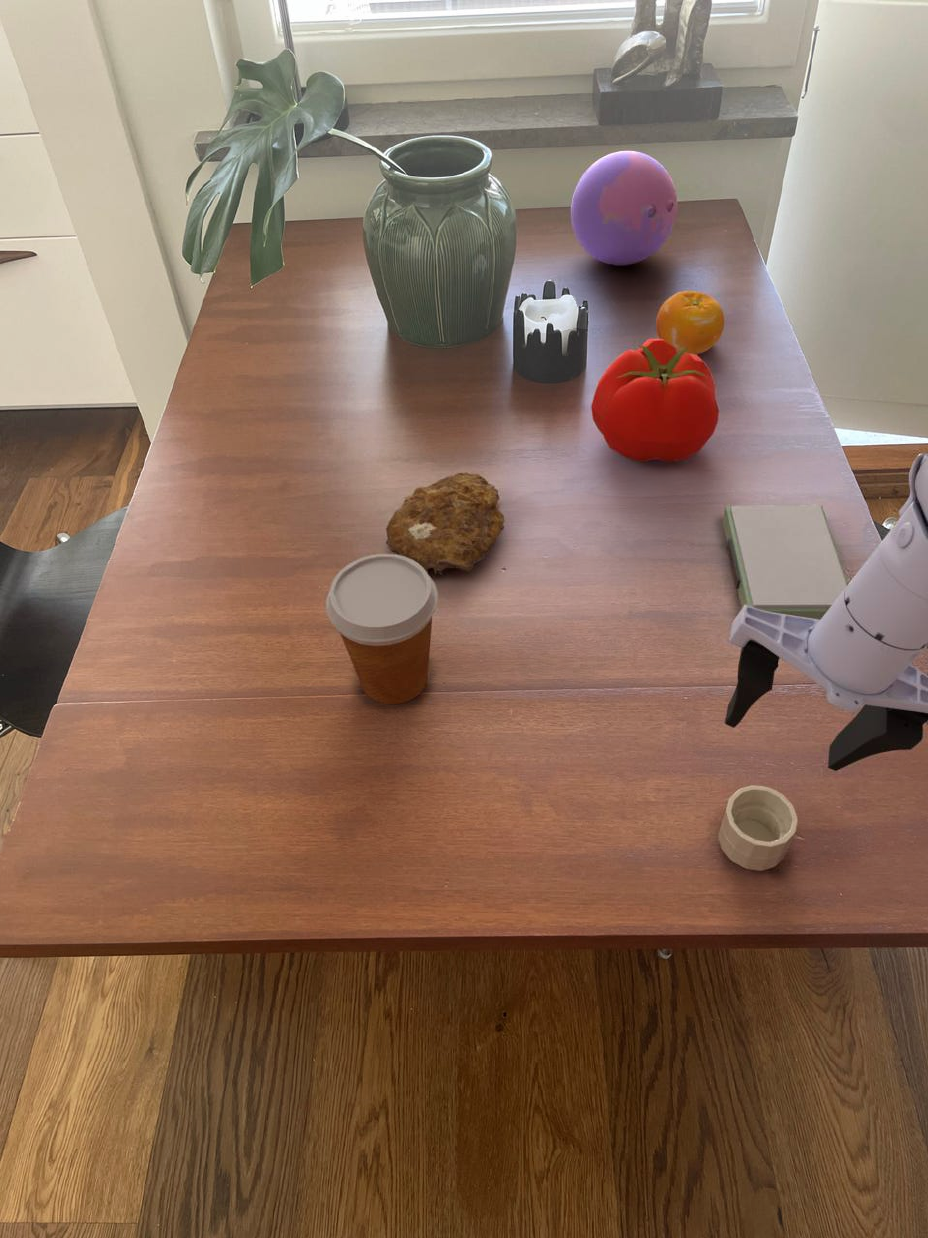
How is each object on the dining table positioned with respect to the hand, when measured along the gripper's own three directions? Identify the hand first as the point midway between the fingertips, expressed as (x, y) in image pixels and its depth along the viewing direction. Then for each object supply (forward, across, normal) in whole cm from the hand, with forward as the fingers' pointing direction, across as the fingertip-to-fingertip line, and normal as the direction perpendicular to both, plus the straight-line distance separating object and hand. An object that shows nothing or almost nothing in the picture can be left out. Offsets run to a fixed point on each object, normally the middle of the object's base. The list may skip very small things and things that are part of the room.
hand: (781, 737), depth 65 cm
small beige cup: (+12, +4, -1) cm, 13 cm away
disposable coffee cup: (+20, -29, +6) cm, 36 cm away
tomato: (+13, -15, +47) cm, 51 cm away
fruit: (+12, -15, +69) cm, 72 cm away
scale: (+10, +2, +31) cm, 32 cm away
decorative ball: (+13, -28, +90) cm, 96 cm away
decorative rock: (+19, -31, +27) cm, 45 cm away
